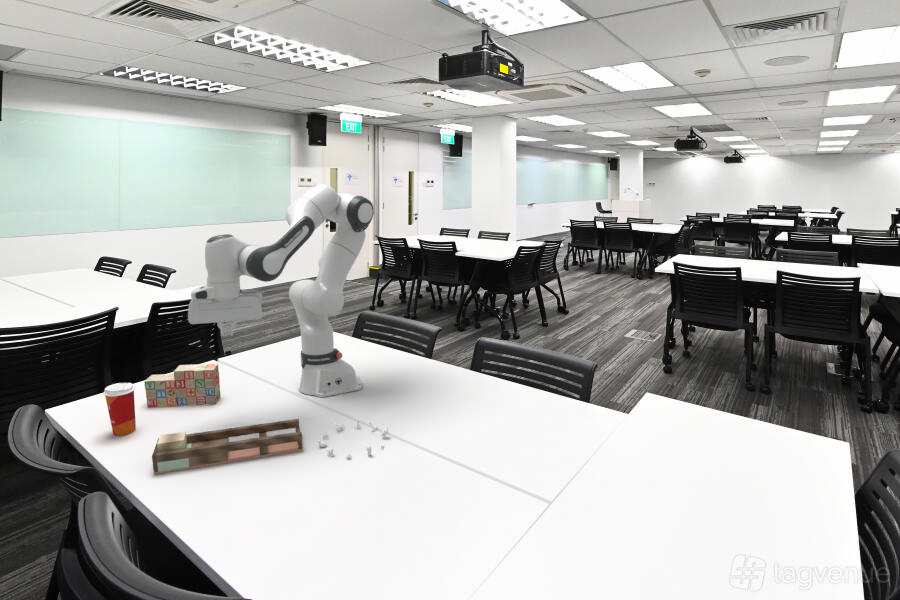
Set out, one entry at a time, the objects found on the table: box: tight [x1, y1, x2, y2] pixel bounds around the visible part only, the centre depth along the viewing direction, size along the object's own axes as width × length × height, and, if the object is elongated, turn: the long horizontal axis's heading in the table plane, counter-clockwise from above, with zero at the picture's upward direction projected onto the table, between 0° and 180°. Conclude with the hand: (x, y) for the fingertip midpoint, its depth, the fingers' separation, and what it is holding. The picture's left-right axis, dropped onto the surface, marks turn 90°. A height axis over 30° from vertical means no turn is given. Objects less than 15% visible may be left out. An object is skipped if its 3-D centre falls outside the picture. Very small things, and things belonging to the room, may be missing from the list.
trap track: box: [151, 418, 304, 475], centre depth 138 cm, size 36×10×5 cm, turn 111°
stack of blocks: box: [144, 363, 222, 408], centre depth 170 cm, size 21×6×12 cm, turn 100°
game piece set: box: [316, 418, 389, 460], centre depth 145 cm, size 19×20×4 cm
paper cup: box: [103, 382, 137, 437], centre depth 149 cm, size 8×8×14 cm
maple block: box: [156, 431, 187, 452], centre depth 133 cm, size 6×5×4 cm
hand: (227, 335), depth 153 cm, fingers closed
